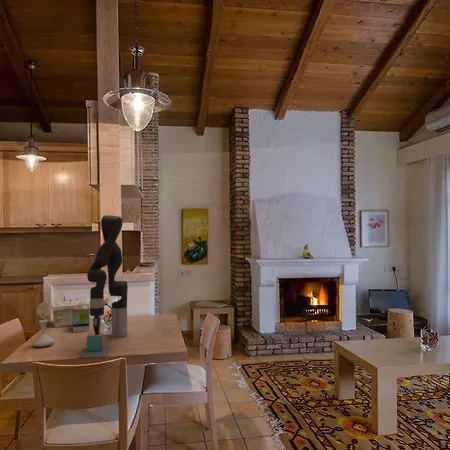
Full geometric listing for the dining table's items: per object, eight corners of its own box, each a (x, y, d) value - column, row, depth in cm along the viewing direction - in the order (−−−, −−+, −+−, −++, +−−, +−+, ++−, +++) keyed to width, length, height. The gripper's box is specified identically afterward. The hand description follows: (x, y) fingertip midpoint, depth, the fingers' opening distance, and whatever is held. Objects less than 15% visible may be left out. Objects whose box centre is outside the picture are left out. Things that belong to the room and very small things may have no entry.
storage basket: (52, 328, 271) (52, 306, 271) (50, 323, 286) (50, 302, 286) (90, 324, 282) (90, 302, 282) (86, 319, 296) (86, 299, 296)
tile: (87, 350, 220) (87, 335, 220) (103, 349, 221) (103, 334, 222) (87, 351, 218) (87, 336, 218) (102, 350, 219) (102, 335, 219)
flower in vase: (29, 345, 232) (28, 301, 232) (49, 341, 240) (49, 298, 240) (37, 350, 223) (37, 303, 223) (58, 346, 231) (58, 301, 231)
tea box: (89, 331, 263) (89, 308, 263) (73, 332, 259) (72, 309, 259) (88, 326, 277) (88, 304, 277) (72, 327, 273) (72, 305, 273)
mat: (83, 348, 225) (83, 347, 225) (110, 347, 228) (110, 346, 228) (77, 358, 207) (77, 357, 207) (106, 357, 210) (106, 356, 210)
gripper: (91, 304, 231) (91, 335, 231) (88, 308, 218) (88, 341, 218) (105, 303, 233) (105, 334, 232) (102, 308, 220) (102, 340, 219)
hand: (97, 338), depth 225 cm, fingers closed
